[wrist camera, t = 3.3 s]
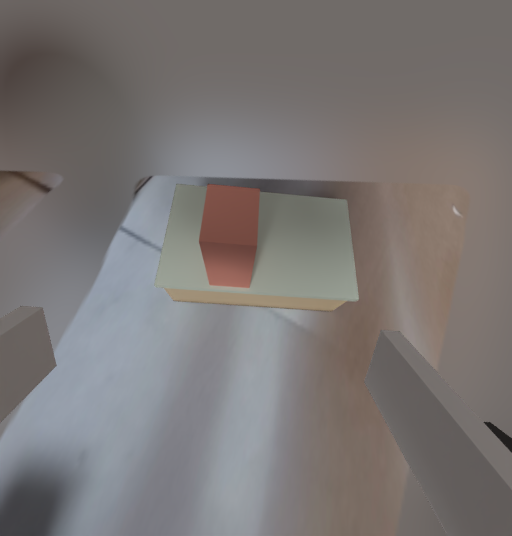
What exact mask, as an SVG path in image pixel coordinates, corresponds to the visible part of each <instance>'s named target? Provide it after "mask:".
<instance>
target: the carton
mask: <svg viewBox="0 0 512 536" xmlns="http://www.w3.org/2000/svg"><path fill="white" fill-rule="evenodd" d="M164 289H165V290H166V291H167V293H168V294H169V295H170V297H171V298H172V299H173V301H182V302H197V303H212V304H227V305H241V306H256V307H271V308H286V309H301V310H316V311H333V310H334V309H336V308H337V307H339V306H340V305H342V304H343V303H344V302H346V301H342V300H328V299H314V298H299V297H285V296H271V295H256V294H242V293H228V292H213V291H199V290H185V289H170V288H164Z"/></svg>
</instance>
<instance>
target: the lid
mask: <svg viewBox="0 0 512 536" xmlns="http://www.w3.org/2000/svg"><path fill="white" fill-rule="evenodd" d="M154 286H155V287H156V288H170V289H185V290H199V291H213V292H228V293H242V294H256V295H271V296H285V297H299V298H314V299H328V300H342V301H357V300H359V296H358V288H357V280H356V272H355V263H354V255H353V247H352V239H351V230H350V222H349V214H348V205H347V200H344V199H333V198H322V197H312V196H301V195H290V194H280V193H269V192H260V189H257V188H246V187H235V186H225V185H214V184H208V185H207V187H205V186H194V185H183V184H176V188H175V193H174V197H173V202H172V206H171V211H170V215H169V220H168V225H167V229H166V234H165V238H164V243H163V247H162V252H161V256H160V261H159V266H158V270H157V275H156V279H155V284H154Z"/></svg>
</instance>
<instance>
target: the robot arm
mask: <svg viewBox="0 0 512 536" xmlns="http://www.w3.org/2000/svg"><path fill="white" fill-rule="evenodd" d="M56 366H57V365H56V361H55V357H54V353H53V349H52V345H51V340H50V336H49V332H48V328H47V324H46V320H45V315H44V311H43V308H42V307H28V306H20V307H19V308H17V309H15V310H14V311H12V312H11V313H9V314H7V315H5V316H4V317H2V318H1V319H0V423H1V422H2V421H3V420H4V419H5V418H6V417H7V415H9V413H10V412H11V411H12V410H13V409H14V408H15V407H16V406H17V405H18V404H19V403H20V402H21V401H22V400H23V399H24V398H25V397H26V396H27V395H28V394H29V393H30V392H31V391H32V390H33V389H34V388H35V387H36V386H37V385H38V384H39V383H40V382H41V381H42V380H43V379H44V378H45V377H46V376H47V375H48V374H49V373H50V372H51V371H52V370H53V369H54V368H55V367H56ZM364 383H365V384H366V386H367V388H368V390H369V392H370V394H371V396H372V398H373V399H374V401H375V403H376V405H377V407H378V409H379V411H380V412H381V414H382V416H383V418H384V420H385V422H386V424H387V425H388V427H389V429H390V431H391V433H392V435H393V437H394V438H395V440H396V442H397V444H398V446H399V448H400V450H401V451H402V453H403V455H404V457H405V459H406V461H407V463H408V464H409V466H410V468H411V470H412V472H413V474H414V476H415V477H416V479H417V481H418V483H419V485H420V487H421V488H422V490H423V492H424V494H425V496H426V498H427V500H428V502H429V503H430V505H431V507H432V509H433V511H434V513H435V514H436V517H437V518H438V520H439V522H440V524H441V526H442V528H443V530H444V531H445V533H446V535H447V536H512V438H510V437H509V436H508V435H506V434H505V433H504V432H502V431H501V430H500V429H498V428H497V427H496V426H494V425H493V424H491V423H490V422H483V421H482V420H481V419H480V418H479V417H478V416H477V415H476V414H475V413H474V412H473V410H472V409H471V408H470V407H469V406H468V405H467V404H466V403H465V402H464V401H463V400H462V399H461V397H460V396H459V395H458V394H457V393H456V392H455V391H454V390H453V389H452V388H451V387H450V386H449V384H448V383H447V382H446V381H445V380H444V379H443V378H442V377H441V376H440V375H439V374H438V373H437V371H436V370H435V369H434V368H433V367H432V366H431V365H430V364H429V363H428V362H427V361H426V360H425V358H424V357H423V356H422V355H421V354H420V353H419V352H418V351H417V350H416V349H415V348H414V347H413V345H412V344H411V343H410V342H409V341H408V340H407V339H406V338H405V337H404V336H403V335H402V333H401V332H400V331H389V330H381V332H380V335H379V338H378V341H377V344H376V347H375V350H374V354H373V357H372V360H371V363H370V366H369V369H368V372H367V375H366V378H365V381H364Z"/></svg>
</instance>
